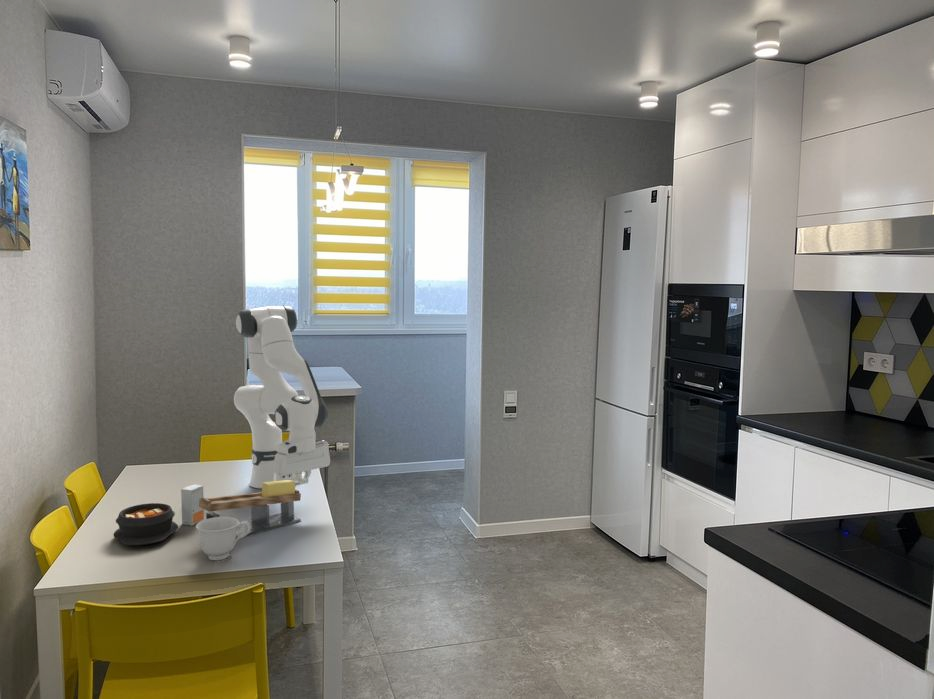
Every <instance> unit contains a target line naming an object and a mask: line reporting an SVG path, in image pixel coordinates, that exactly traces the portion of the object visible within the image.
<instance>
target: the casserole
mask: <svg viewBox="0 0 934 699" xmlns="http://www.w3.org/2000/svg"><path fill="white" fill-rule="evenodd" d="M175 514H176V512H175V511H174V510H173V509H172V507H171V505H169V504H166V503H160V502H159V503H157V502H155V503H154V502H152V503H151V502H150V503H141V504H136V505H133V506H129V507H127V508H124V509H122V510H120V512H119V513H118V516H117V518H116V519H115V523H116V524H117V525H118V528H117V529H116V530H114V533H113V537H114V538H115V539H117V540H119V541H120V542H121V543H122V544H123V545H126V546H144V545H150V544H154V543H155V544H156V543H160V542H163V541H164V540H166V539H167V538H168V537H169V536H170V535H171V534H174V533H175V532H176V531H177V530H179V525H178V524H177V523H176V522H175V521H173V518H174V517H175Z"/></svg>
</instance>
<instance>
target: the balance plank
mask: <svg viewBox="0 0 934 699" xmlns="http://www.w3.org/2000/svg"><path fill="white" fill-rule="evenodd" d="M301 495H302V494H301V493H300V490H299V489H297V488H295V494H287V495H279V496H270V497H263V496H262V491H261V492H251V493H244V494H236V495H234V494H233V495H226V496H217V497H215V496H214V497H207V498H206V497H202V498H201V499H199V507H201V508H203V509H204V511H206V512H212V511H213V512H218V511H219V512H220V511H226V510H234V509H235V510H236V509H242V508H244V509H245V508H251V507H252V506H260V505H269V506H270V505H274V504H275V505H276V504H281V503H285V502H293V501H294V502H300V501H301V497H302V496H301Z"/></svg>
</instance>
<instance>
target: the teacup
mask: <svg viewBox="0 0 934 699" xmlns="http://www.w3.org/2000/svg"><path fill="white" fill-rule="evenodd" d="M238 524H240V525H239V526H237V525H238ZM242 525H246V526H247V530H246V532H245V533H243V534H241V535H239V536H238V537H237V538H236V530H237V529H239V530H240V529H241V526H242ZM195 529H197V531H198V533H199V541H200V545H201V549H202V551H203V553H205V554H206V555H208V556H207V557H208V559H209V560H211V561H220V560H222V561H223V560H225V559H227V558H228V557H230V552H231V551H232V550H233V549H234V548H235V545H236V543H237V542H238V540H241V539H242V538H245V537H247V536H246V535H247V534H248V533H249V531H250V525H249V523H248V521H245V520H244V521H241V522H240V521H239V519H238V518H236V517H232V516H220V517H214V518H209V519H205V518H204V520H203V521H200V522H198V523H196V524H195ZM244 536H245V537H244Z"/></svg>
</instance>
